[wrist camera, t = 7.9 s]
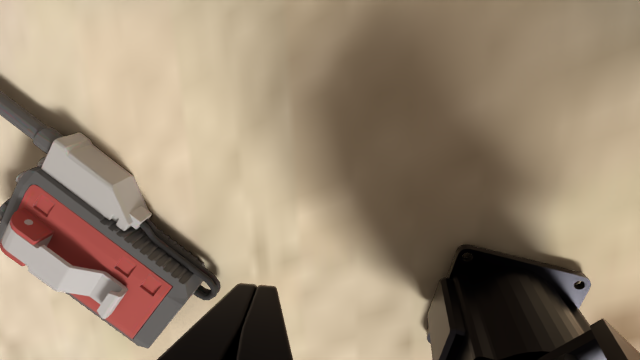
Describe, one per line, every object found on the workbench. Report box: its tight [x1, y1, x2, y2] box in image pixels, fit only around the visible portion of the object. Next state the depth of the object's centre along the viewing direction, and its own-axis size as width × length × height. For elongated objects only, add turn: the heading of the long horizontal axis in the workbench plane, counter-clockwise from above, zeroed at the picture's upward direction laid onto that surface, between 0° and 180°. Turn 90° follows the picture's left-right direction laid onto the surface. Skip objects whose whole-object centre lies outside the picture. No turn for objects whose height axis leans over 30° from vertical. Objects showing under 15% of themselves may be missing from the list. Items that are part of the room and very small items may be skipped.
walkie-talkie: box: [0, 91, 220, 348], centre depth 22 cm, size 9×4×20 cm
